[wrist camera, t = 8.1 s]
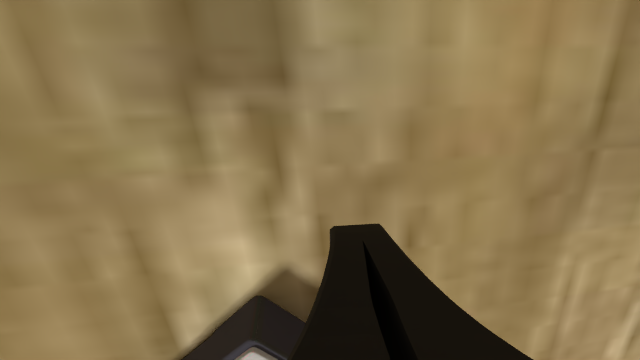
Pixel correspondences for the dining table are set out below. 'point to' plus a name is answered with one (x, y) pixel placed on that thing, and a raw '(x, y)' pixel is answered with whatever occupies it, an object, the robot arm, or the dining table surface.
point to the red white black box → (252, 334)
